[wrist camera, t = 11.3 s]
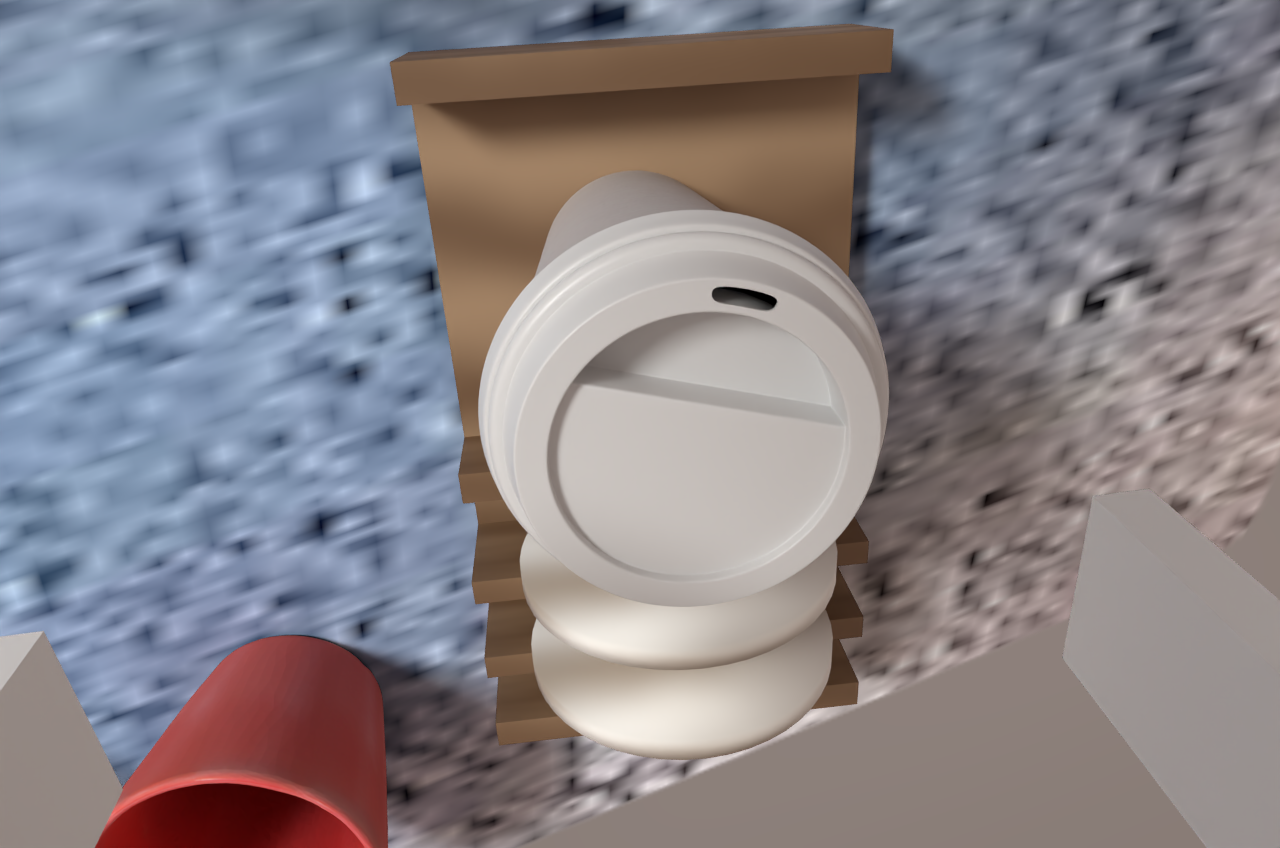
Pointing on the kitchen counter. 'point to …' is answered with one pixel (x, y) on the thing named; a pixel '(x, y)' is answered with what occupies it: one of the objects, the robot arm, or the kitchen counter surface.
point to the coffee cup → (682, 396)
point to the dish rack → (507, 262)
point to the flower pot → (265, 758)
